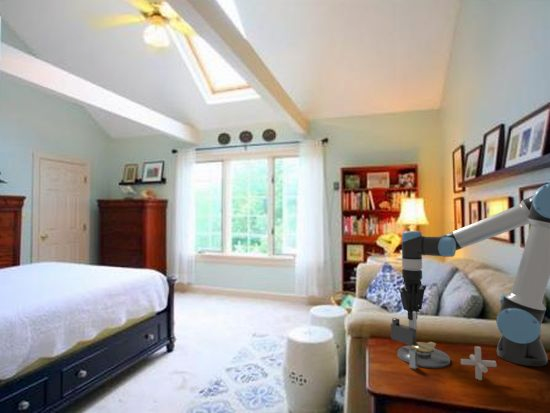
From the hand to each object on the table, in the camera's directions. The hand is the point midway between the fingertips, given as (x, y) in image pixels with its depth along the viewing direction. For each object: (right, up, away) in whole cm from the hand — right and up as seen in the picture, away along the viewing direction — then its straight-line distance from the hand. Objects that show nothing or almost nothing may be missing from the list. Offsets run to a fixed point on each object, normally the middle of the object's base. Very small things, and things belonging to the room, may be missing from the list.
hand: (412, 327), depth 135 cm
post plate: (-1, -8, -11) cm, 13 cm away
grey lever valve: (-3, -5, -6) cm, 8 cm away
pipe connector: (+10, -7, -27) cm, 30 cm away
